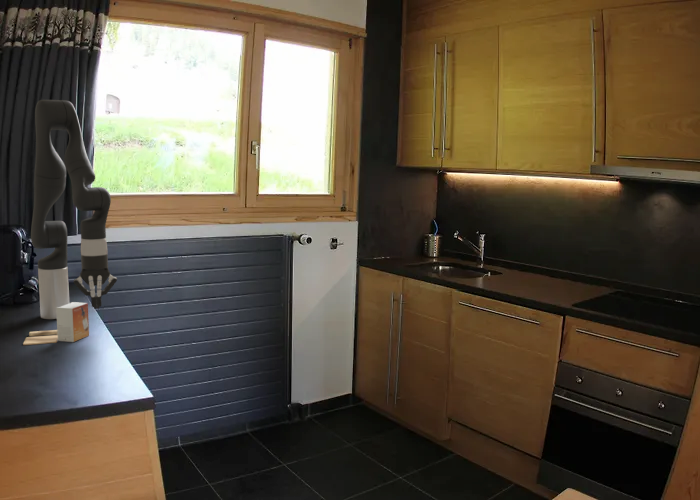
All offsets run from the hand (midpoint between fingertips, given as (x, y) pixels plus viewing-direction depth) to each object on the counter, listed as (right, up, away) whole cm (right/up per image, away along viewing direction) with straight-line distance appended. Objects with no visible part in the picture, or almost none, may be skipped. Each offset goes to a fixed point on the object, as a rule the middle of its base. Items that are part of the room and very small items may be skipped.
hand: (96, 308), depth 193 cm
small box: (-6, -9, -1) cm, 11 cm away
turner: (-15, -8, +3) cm, 18 cm away
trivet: (-15, -9, -4) cm, 18 cm away
